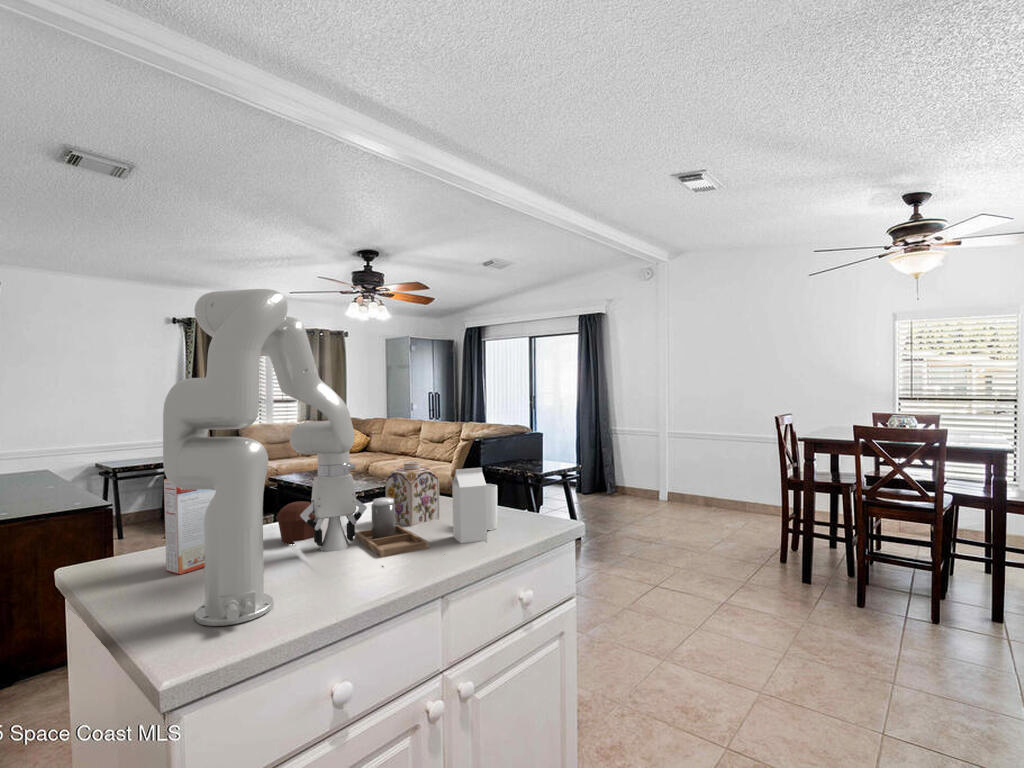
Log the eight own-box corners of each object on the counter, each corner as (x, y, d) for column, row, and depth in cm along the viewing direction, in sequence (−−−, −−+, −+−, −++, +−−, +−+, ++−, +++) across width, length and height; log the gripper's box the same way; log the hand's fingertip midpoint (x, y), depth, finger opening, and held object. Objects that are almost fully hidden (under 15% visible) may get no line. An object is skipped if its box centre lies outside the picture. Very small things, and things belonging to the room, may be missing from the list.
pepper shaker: (399, 539, 140) (398, 500, 140) (376, 543, 137) (375, 503, 137) (390, 534, 145) (390, 496, 145) (368, 538, 142) (368, 499, 142)
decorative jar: (411, 530, 153) (410, 466, 153) (384, 524, 160) (383, 463, 160) (441, 521, 163) (440, 461, 163) (414, 516, 170) (413, 458, 170)
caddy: (428, 552, 132) (428, 541, 132) (381, 561, 125) (381, 550, 125) (398, 534, 149) (398, 525, 149) (354, 541, 142) (354, 532, 142)
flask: (340, 556, 130) (340, 514, 130) (313, 555, 131) (312, 513, 131) (355, 547, 137) (354, 508, 137) (329, 546, 139) (328, 507, 139)
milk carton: (487, 543, 138) (486, 469, 138) (460, 547, 136) (459, 471, 136) (478, 536, 145) (477, 465, 145) (453, 540, 142) (452, 467, 142)
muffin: (329, 534, 150) (328, 498, 150) (313, 545, 139) (313, 506, 139) (286, 534, 151) (286, 498, 151) (267, 546, 139) (267, 507, 140)
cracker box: (224, 554, 133) (223, 469, 133) (239, 557, 130) (238, 470, 130) (163, 571, 121) (162, 477, 121) (178, 575, 118) (177, 479, 118)
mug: (503, 528, 154) (502, 485, 154) (485, 532, 149) (484, 489, 149) (479, 522, 161) (479, 481, 161) (462, 526, 156) (461, 484, 156)
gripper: (363, 465, 142) (364, 533, 142) (293, 472, 133) (294, 545, 133) (373, 468, 136) (374, 540, 136) (300, 476, 126) (301, 552, 126)
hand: (334, 541), depth 134 cm, fingers open, 6 cm apart
